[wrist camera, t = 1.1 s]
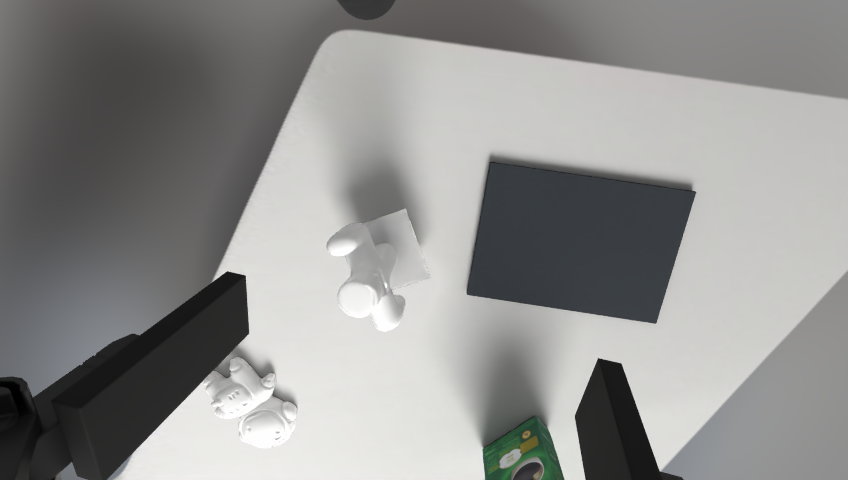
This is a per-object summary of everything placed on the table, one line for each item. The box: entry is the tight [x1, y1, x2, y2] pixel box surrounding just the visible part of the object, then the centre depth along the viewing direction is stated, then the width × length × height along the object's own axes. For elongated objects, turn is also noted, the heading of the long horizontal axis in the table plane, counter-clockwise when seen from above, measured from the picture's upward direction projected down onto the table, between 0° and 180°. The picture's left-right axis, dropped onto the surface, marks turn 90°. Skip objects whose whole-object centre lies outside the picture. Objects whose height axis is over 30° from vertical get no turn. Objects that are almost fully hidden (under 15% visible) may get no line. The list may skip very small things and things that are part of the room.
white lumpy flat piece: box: [204, 357, 297, 448], centre depth 47 cm, size 9×12×3 cm
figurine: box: [327, 209, 431, 331], centre depth 36 cm, size 7×9×15 cm
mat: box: [467, 162, 696, 324], centre depth 42 cm, size 20×14×1 cm
